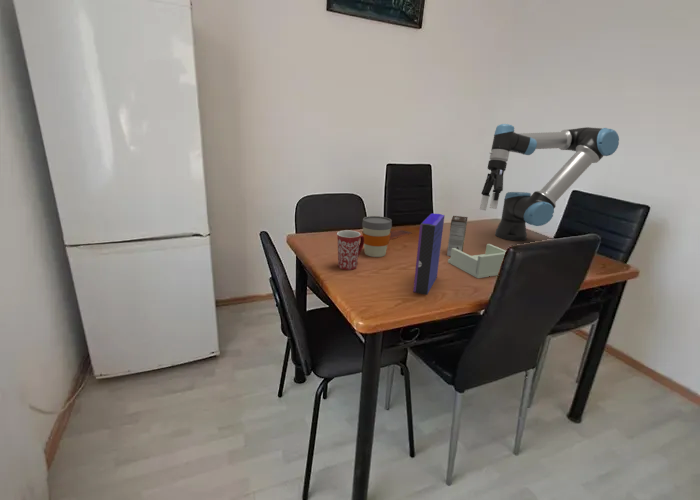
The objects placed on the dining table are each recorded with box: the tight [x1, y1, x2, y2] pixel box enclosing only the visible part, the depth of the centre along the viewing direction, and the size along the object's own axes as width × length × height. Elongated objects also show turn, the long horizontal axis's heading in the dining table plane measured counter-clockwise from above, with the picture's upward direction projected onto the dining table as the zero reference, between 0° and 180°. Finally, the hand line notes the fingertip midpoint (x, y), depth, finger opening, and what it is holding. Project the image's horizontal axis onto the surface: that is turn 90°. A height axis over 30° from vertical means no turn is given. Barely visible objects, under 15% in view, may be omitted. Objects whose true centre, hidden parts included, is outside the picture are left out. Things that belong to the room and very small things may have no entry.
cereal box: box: [412, 213, 445, 296], centre depth 138 cm, size 17×5×24 cm, turn 157°
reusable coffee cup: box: [361, 215, 393, 258], centre depth 168 cm, size 13×13×15 cm
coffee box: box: [446, 215, 468, 257], centre depth 172 cm, size 9×6×16 cm
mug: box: [336, 229, 364, 271], centre depth 154 cm, size 13×9×14 cm
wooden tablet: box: [390, 229, 413, 240], centre depth 198 cm, size 27×10×2 cm, turn 131°
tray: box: [447, 243, 507, 279], centre depth 159 cm, size 20×18×8 cm
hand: (487, 209), depth 174 cm, fingers open, 13 cm apart
